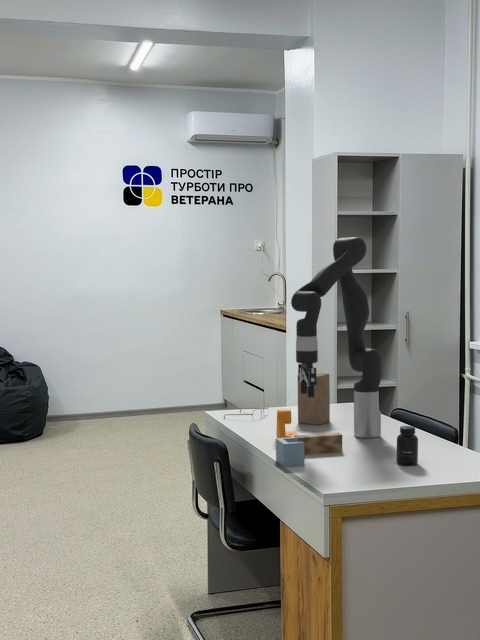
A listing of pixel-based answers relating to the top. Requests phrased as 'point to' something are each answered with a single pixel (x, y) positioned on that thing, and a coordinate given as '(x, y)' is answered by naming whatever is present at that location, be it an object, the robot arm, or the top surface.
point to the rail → (321, 443)
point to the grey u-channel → (290, 452)
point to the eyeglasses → (248, 414)
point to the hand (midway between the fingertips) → (307, 395)
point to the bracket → (283, 419)
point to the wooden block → (315, 402)
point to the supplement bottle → (407, 446)
